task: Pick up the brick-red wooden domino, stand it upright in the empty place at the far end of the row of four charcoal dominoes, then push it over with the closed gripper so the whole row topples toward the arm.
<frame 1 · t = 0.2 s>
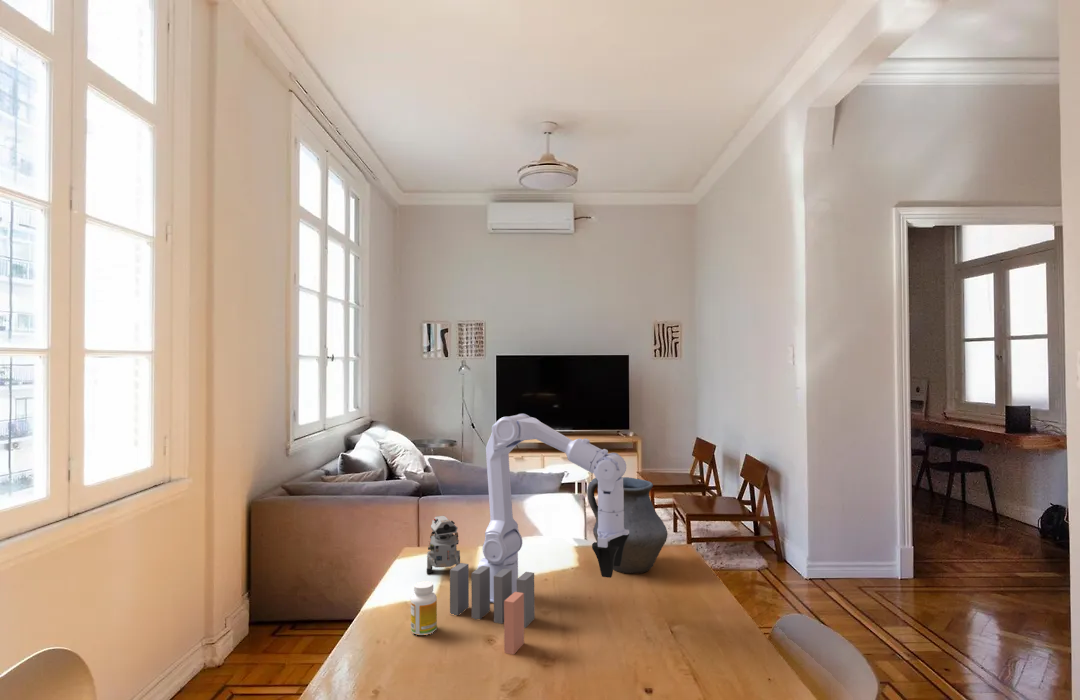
hand: (611, 570, 131), 10 cm above the table, tool pointing down, fingers open, 7 cm apart
figurine: (443, 574, 159), on the table
domino 3: (480, 614, 133), on the table
domino 2: (503, 618, 131), on the table
supplement bottle: (423, 631, 125), on the table
domino 1: (525, 622, 129), on the table
pitcher: (627, 568, 163), on the table
domino 4: (459, 611, 135), on the table
red domino: (514, 647, 117), on the table
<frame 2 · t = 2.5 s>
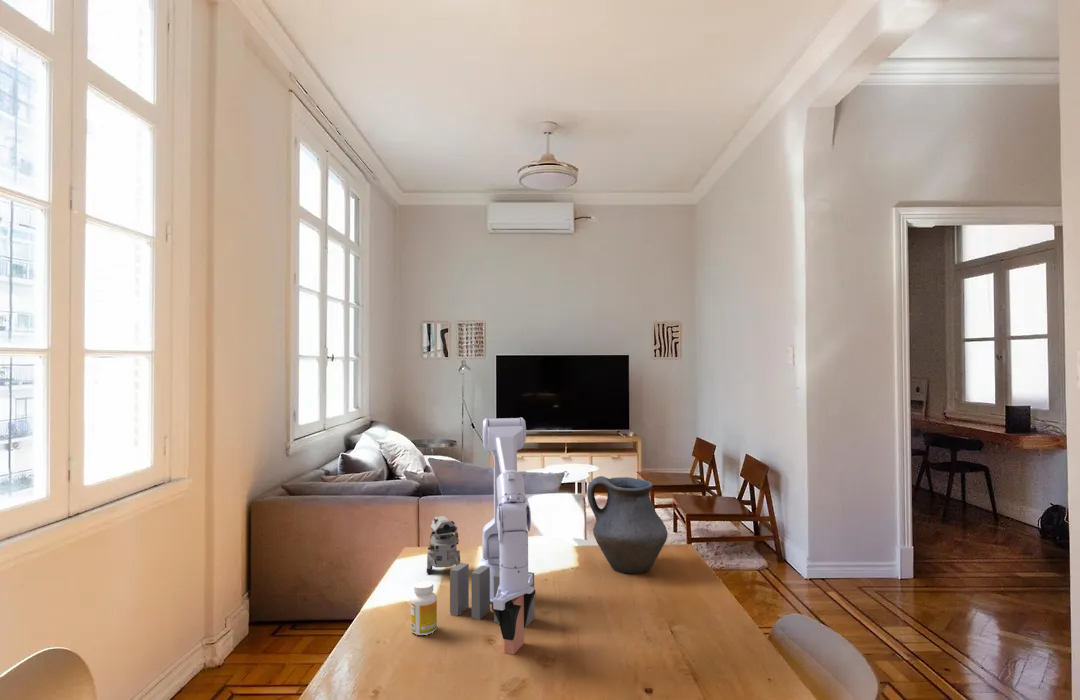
hand: (514, 632, 117), 3 cm above the table, tool pointing down, fingers closed on red domino, 5 cm apart
red domino: (514, 647, 117), on the table, touching gripper
everything else where it was.
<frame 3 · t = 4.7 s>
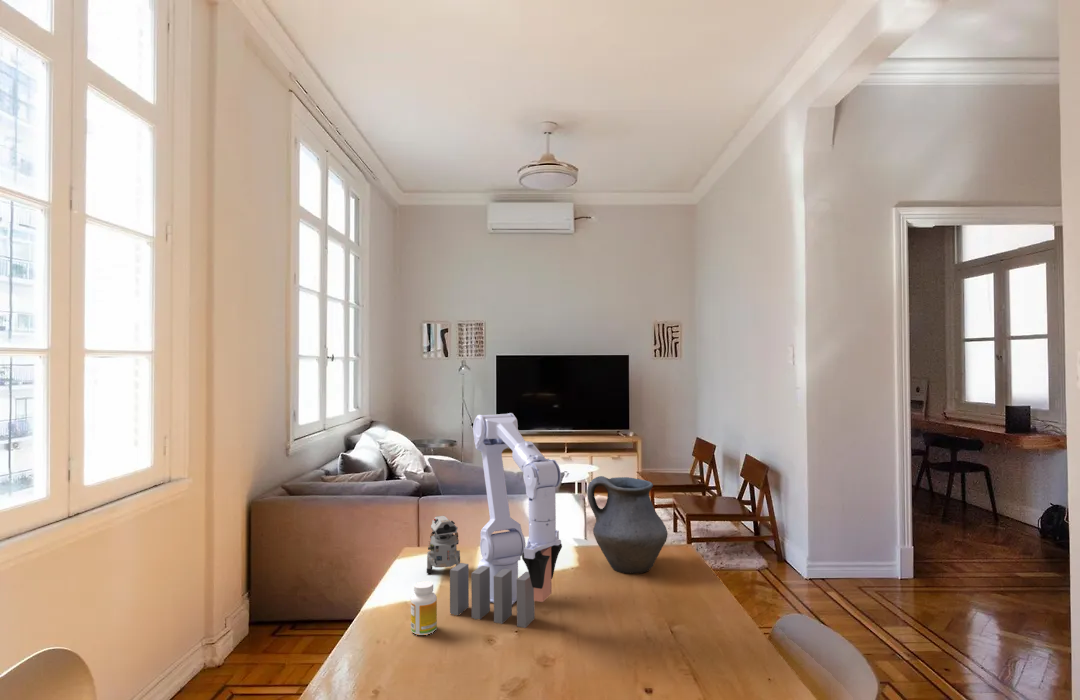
hand: (542, 582, 125), 10 cm above the table, tool pointing down, fingers closed on red domino, 5 cm apart
red domino: (542, 596, 125), point 7 cm above the table, touching gripper
everything else where it was.
when the fingers open (4 cm above the table, at t = 6.9 s): red domino stays where it is, on the table.
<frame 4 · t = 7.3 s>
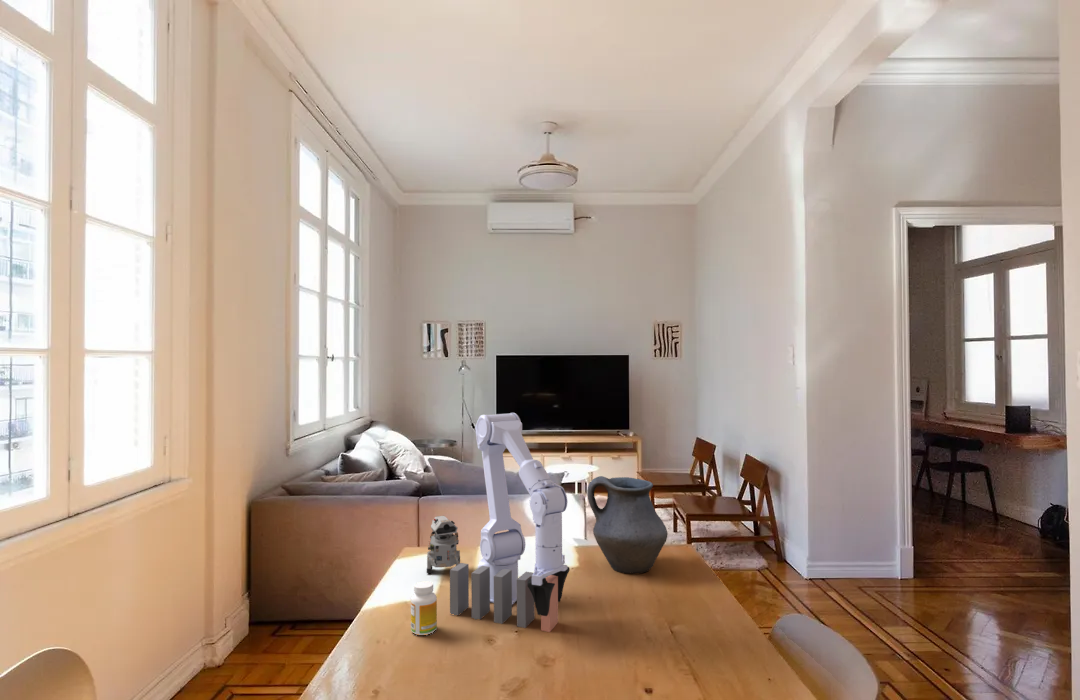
hand: (549, 607, 127), 4 cm above the table, tool pointing down, fingers open, 7 cm apart
red domino: (549, 626, 127), on the table
everything else where it was.
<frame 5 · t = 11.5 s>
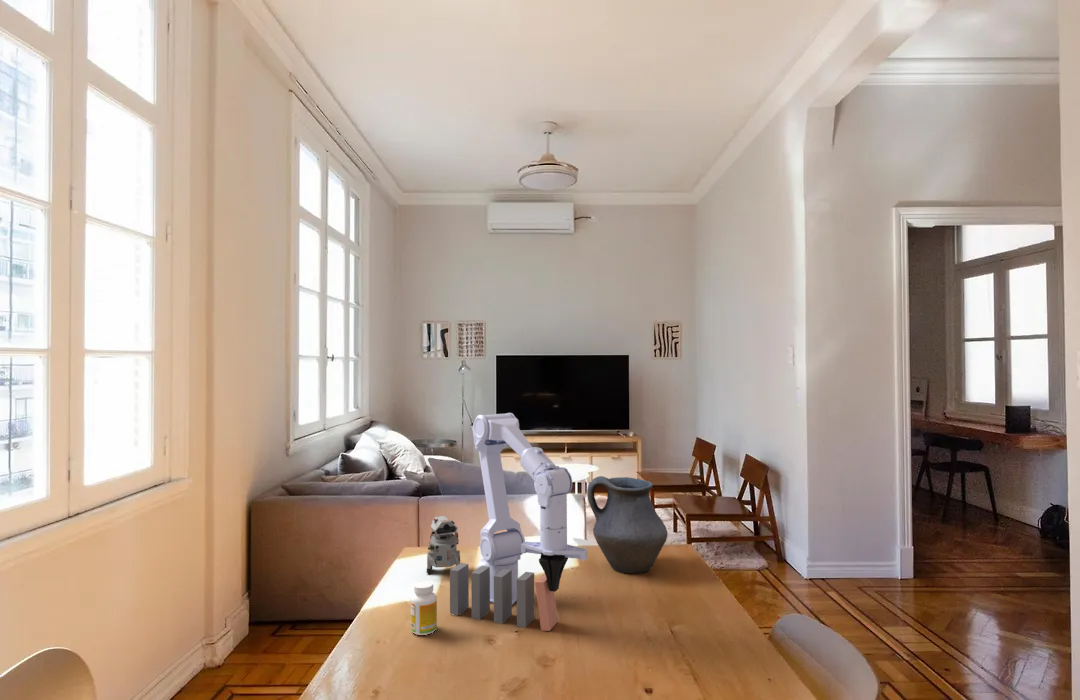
hand: (554, 589, 127), 8 cm above the table, tool pointing down, fingers closed
red domino: (549, 625, 127), on the table, tilted 7°
everything else where it was.
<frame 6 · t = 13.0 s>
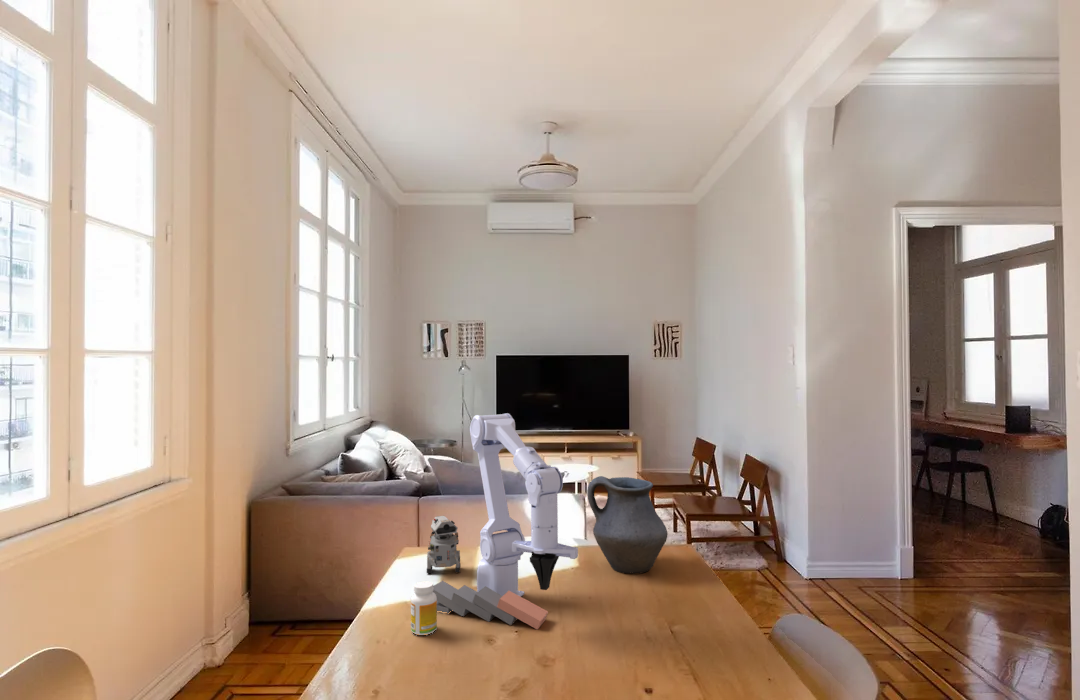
hand: (544, 588, 127), 8 cm above the table, tool pointing down, fingers closed
domino 3: (470, 608, 134), point 1 cm above the table, tilted 71°, touching domino 2
domino 2: (495, 613, 131), point 1 cm above the table, tilted 71°, touching domino 1, domino 3
domino 1: (517, 616, 129), point 1 cm above the table, tilted 68°, touching domino 2, red domino
domino 4: (454, 608, 136), on the table, tilted 90°
red domino: (543, 620, 127), point 1 cm above the table, tilted 69°, touching domino 1
everything else where it was.
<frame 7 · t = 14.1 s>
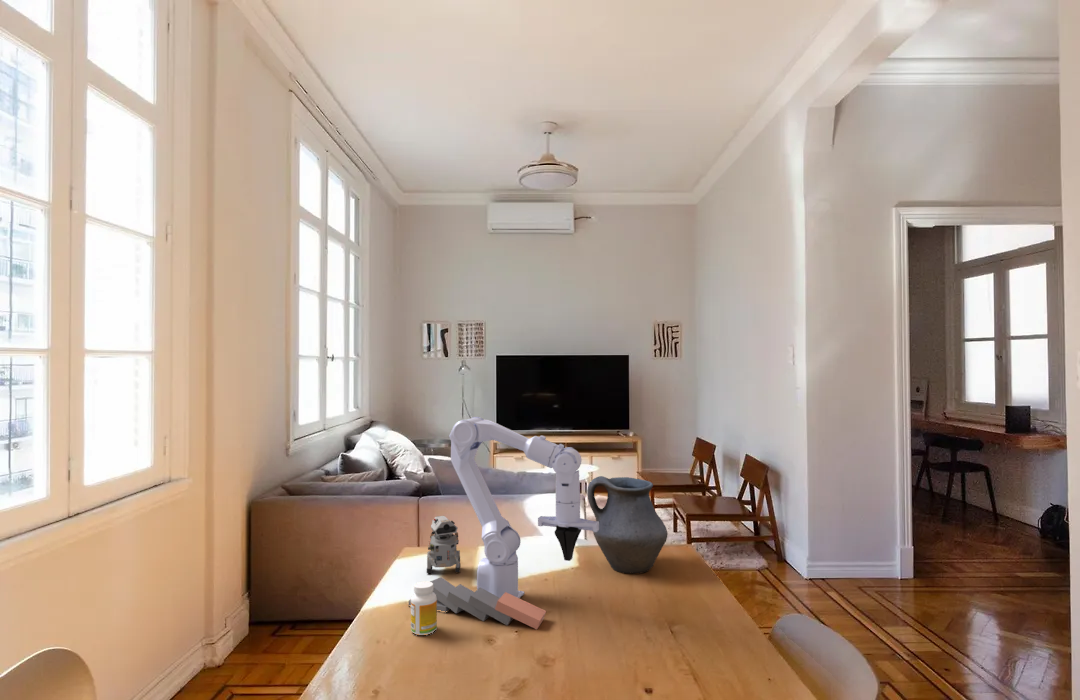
hand: (568, 559, 139), 10 cm above the table, tool pointing down, fingers closed
domino 3: (464, 606, 135), point 1 cm above the table, tilted 71°, touching domino 2
domino 2: (490, 612, 132), point 1 cm above the table, tilted 70°, touching domino 1, domino 3
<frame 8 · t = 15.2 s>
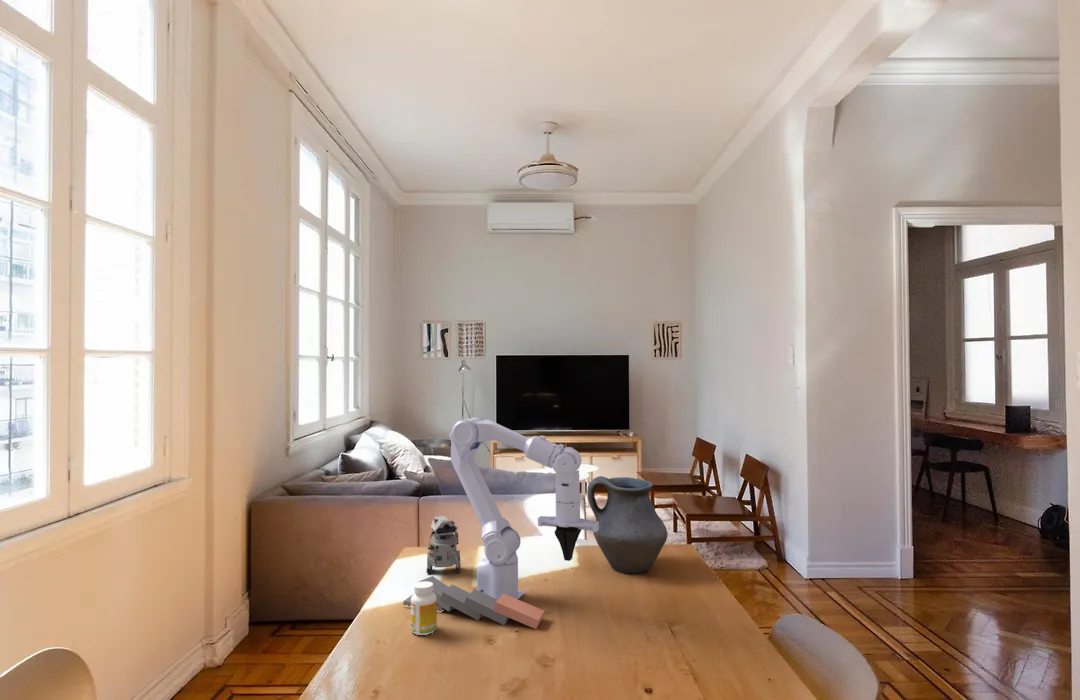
hand: (568, 559, 139), 10 cm above the table, tool pointing down, fingers closed
domino 3: (456, 604, 135), point 1 cm above the table, tilted 70°, touching domino 2, domino 4
domino 2: (484, 612, 132), point 1 cm above the table, tilted 70°, touching domino 1, domino 3
domino 1: (509, 616, 130), point 1 cm above the table, tilted 70°, touching domino 2, red domino
domino 4: (446, 606, 136), on the table, tilted 90°, touching domino 3
everything else where it was.
at the end: domino 4 tilted 90°; red domino tilted 73°; red domino 7.1 cm from the domino 1 (horizontally) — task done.
